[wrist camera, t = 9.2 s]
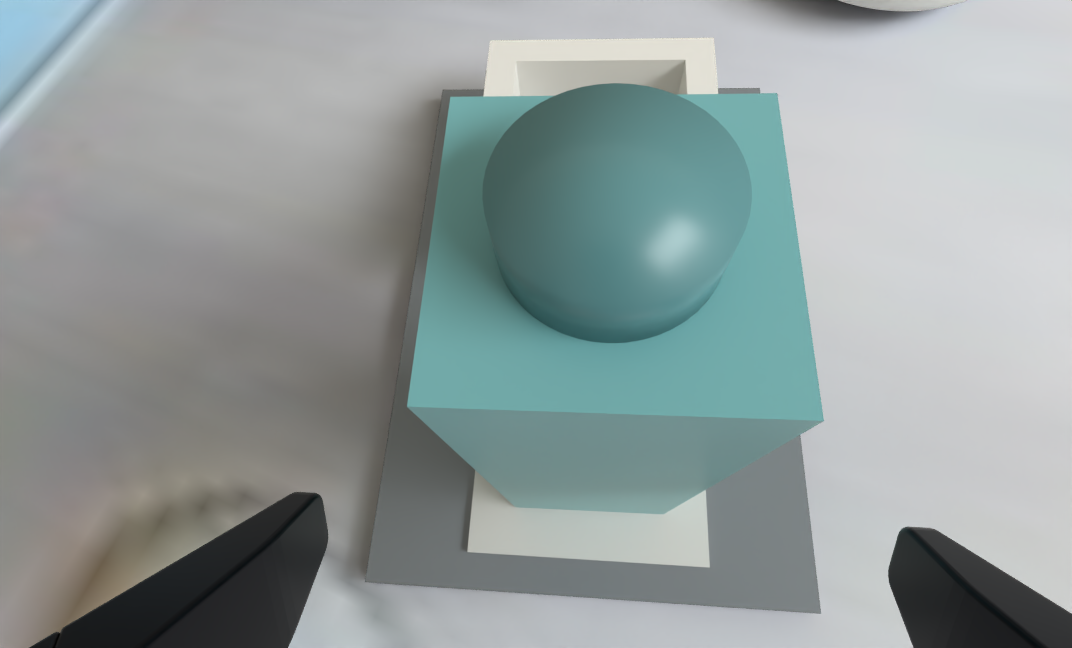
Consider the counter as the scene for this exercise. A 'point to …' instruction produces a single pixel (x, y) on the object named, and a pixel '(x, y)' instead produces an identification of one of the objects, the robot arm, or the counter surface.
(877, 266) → the counter surface
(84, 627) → the robot arm
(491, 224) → the plug
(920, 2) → the flower in vase
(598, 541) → the grey board with socket
